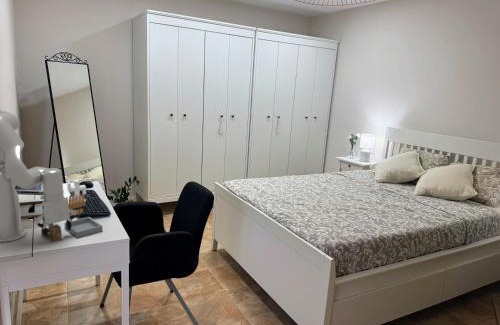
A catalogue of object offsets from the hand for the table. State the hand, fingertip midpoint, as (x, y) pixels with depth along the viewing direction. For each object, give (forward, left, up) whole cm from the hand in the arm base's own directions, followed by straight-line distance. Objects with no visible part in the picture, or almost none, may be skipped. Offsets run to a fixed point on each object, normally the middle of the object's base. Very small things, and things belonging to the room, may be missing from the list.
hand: (57, 232), depth 157 cm
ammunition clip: (+16, +21, -3) cm, 27 cm away
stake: (-1, +6, -3) cm, 7 cm away
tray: (+12, +2, -3) cm, 13 cm away
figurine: (+23, +36, -3) cm, 43 cm away
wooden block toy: (-1, +4, -3) cm, 5 cm away
